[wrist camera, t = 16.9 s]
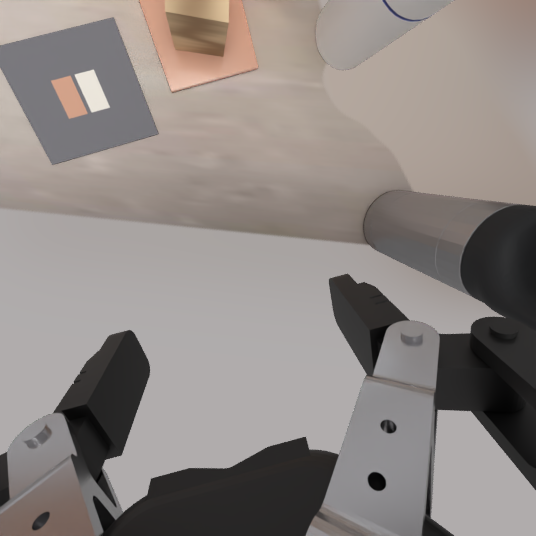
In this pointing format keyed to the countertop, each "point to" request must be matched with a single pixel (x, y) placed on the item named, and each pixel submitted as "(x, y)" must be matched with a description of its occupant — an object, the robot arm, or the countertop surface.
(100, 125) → the mat
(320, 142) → the countertop surface
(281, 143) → the countertop surface
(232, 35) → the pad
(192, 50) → the maple block
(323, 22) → the cylindrical container
